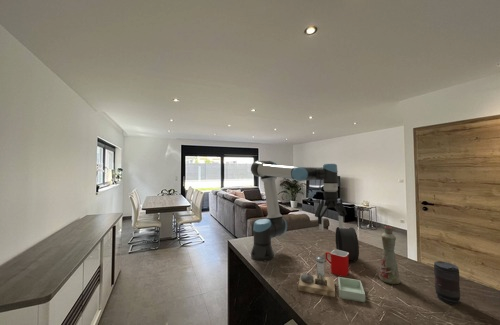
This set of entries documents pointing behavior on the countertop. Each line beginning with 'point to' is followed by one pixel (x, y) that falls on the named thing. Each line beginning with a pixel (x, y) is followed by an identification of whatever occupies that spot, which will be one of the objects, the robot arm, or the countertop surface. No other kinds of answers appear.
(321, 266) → the lock pin
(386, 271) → the bottle
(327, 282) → the block
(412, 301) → the countertop surface
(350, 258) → the wheel rim
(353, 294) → the tray
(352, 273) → the countertop surface
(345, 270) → the mug
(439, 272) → the camera lens
